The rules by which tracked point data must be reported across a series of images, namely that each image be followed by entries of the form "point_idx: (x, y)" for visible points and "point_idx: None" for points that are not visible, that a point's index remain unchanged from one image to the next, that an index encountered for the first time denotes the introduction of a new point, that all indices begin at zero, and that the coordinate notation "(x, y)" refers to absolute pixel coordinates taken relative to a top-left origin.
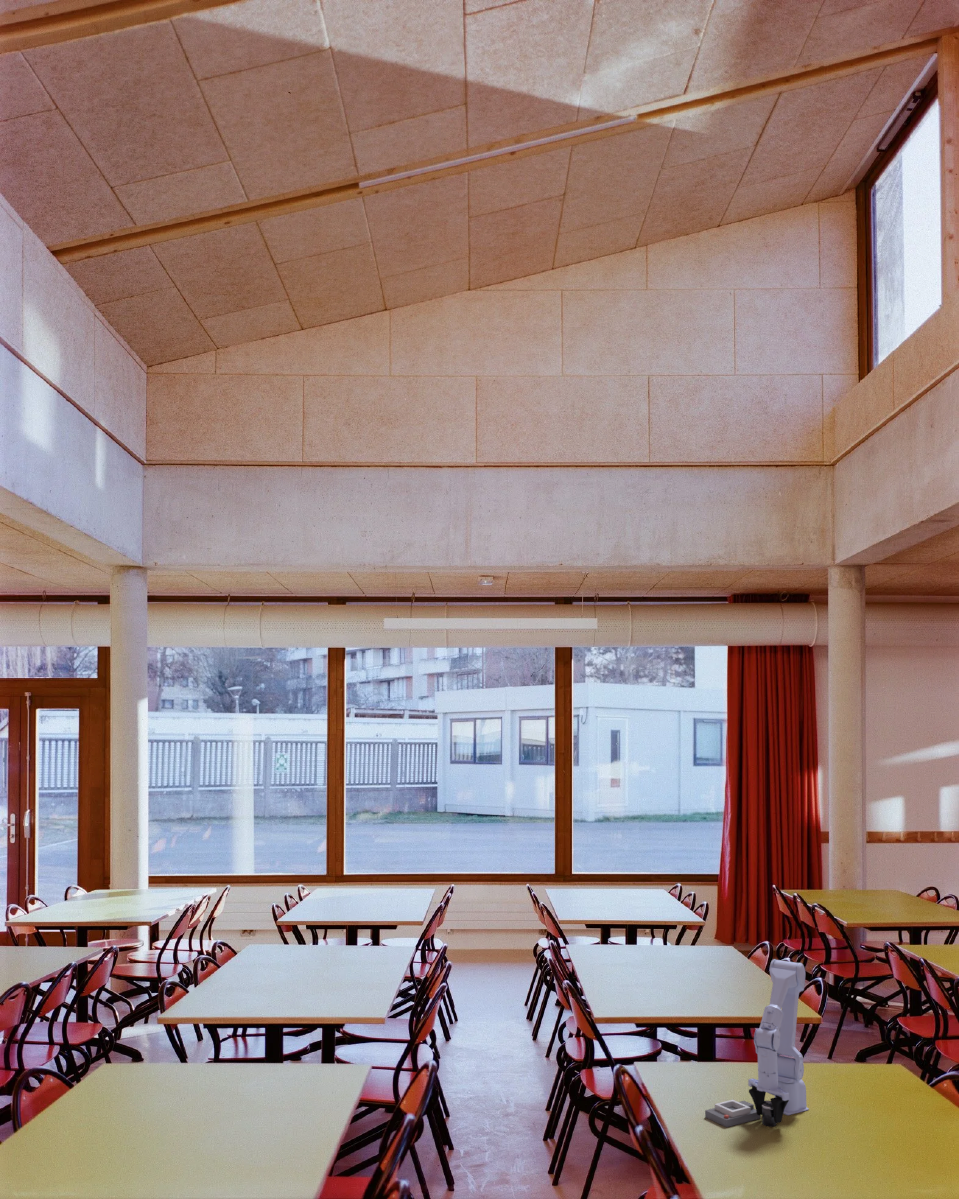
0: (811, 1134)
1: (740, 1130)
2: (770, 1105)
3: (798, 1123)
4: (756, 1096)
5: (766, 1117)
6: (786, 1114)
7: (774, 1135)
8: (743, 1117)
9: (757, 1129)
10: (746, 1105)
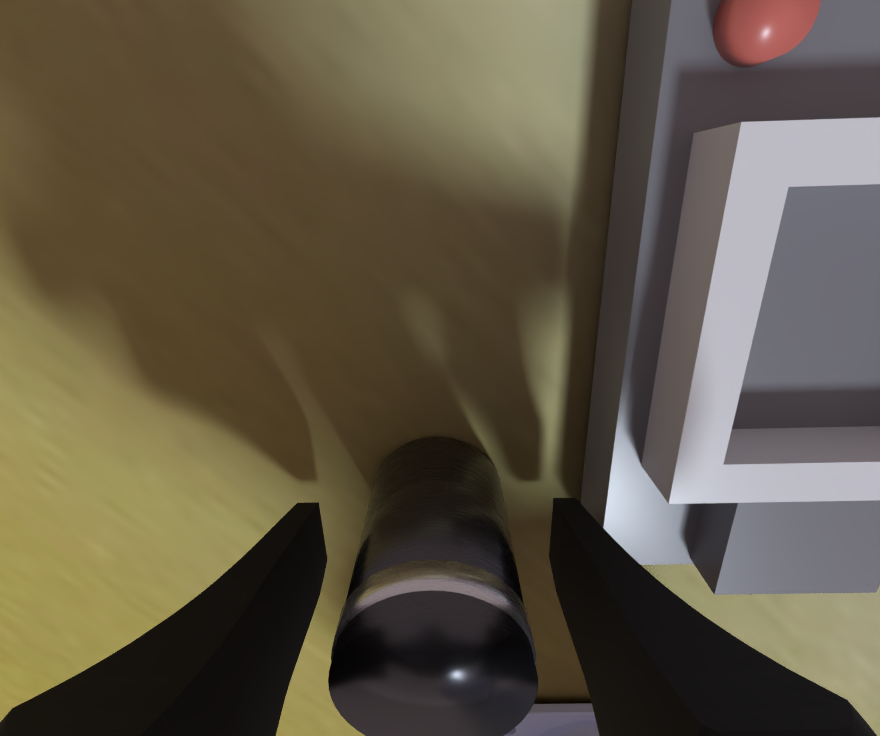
0: (136, 616)
1: (477, 110)
2: (336, 651)
3: None
4: (649, 694)
5: (404, 493)
6: None
7: (208, 357)
8: (623, 317)
9: (405, 317)
10: (762, 518)
